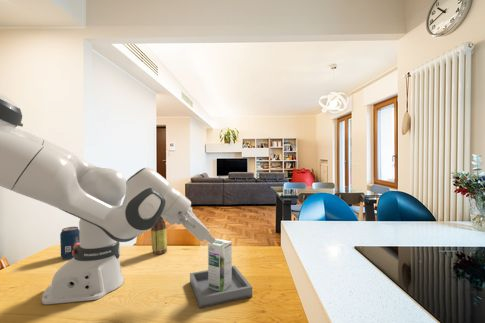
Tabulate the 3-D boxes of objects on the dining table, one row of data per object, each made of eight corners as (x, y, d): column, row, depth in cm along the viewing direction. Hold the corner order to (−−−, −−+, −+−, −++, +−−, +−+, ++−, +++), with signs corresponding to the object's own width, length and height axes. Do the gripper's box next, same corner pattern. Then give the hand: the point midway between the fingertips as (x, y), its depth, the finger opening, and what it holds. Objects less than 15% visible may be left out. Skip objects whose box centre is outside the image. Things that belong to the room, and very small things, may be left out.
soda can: (64, 254, 112) (63, 227, 111) (82, 252, 114) (81, 225, 113) (58, 261, 105) (57, 231, 104) (77, 258, 107) (77, 230, 106)
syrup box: (207, 288, 82) (207, 243, 82) (218, 280, 87) (217, 237, 87) (222, 293, 79) (222, 246, 79) (232, 284, 84) (232, 240, 84)
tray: (200, 308, 73) (200, 298, 73) (190, 281, 88) (190, 273, 88) (252, 296, 79) (252, 287, 79) (234, 273, 94) (234, 265, 93)
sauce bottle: (169, 249, 116) (168, 206, 116) (163, 255, 110) (162, 209, 109) (155, 249, 117) (154, 205, 116) (148, 254, 111) (148, 208, 110)
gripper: (191, 208, 69) (226, 239, 73) (179, 195, 88) (207, 220, 92) (174, 226, 68) (211, 257, 72) (165, 210, 86) (195, 234, 91)
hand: (209, 236), depth 82 cm, fingers open, 8 cm apart
